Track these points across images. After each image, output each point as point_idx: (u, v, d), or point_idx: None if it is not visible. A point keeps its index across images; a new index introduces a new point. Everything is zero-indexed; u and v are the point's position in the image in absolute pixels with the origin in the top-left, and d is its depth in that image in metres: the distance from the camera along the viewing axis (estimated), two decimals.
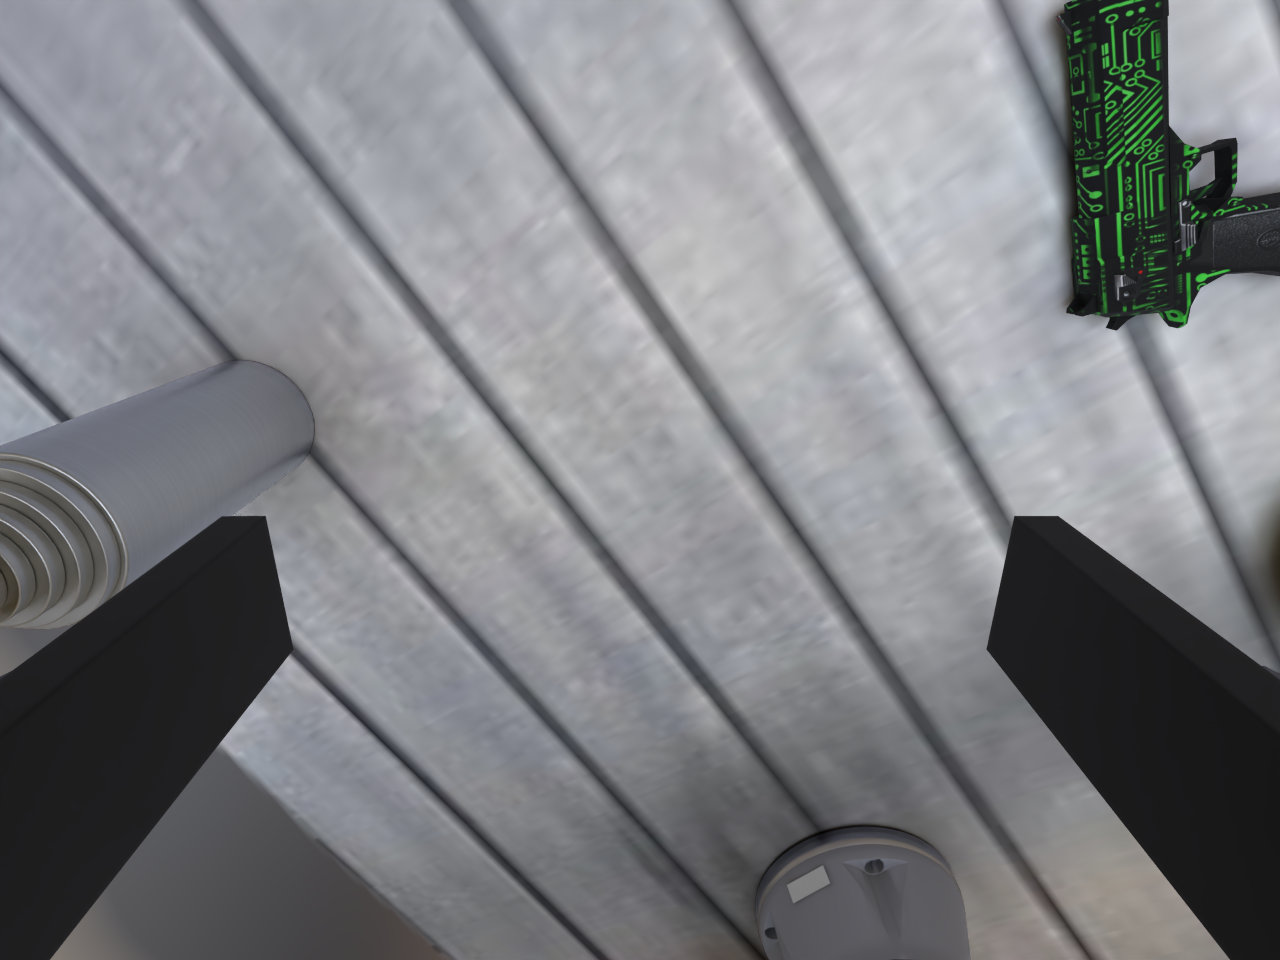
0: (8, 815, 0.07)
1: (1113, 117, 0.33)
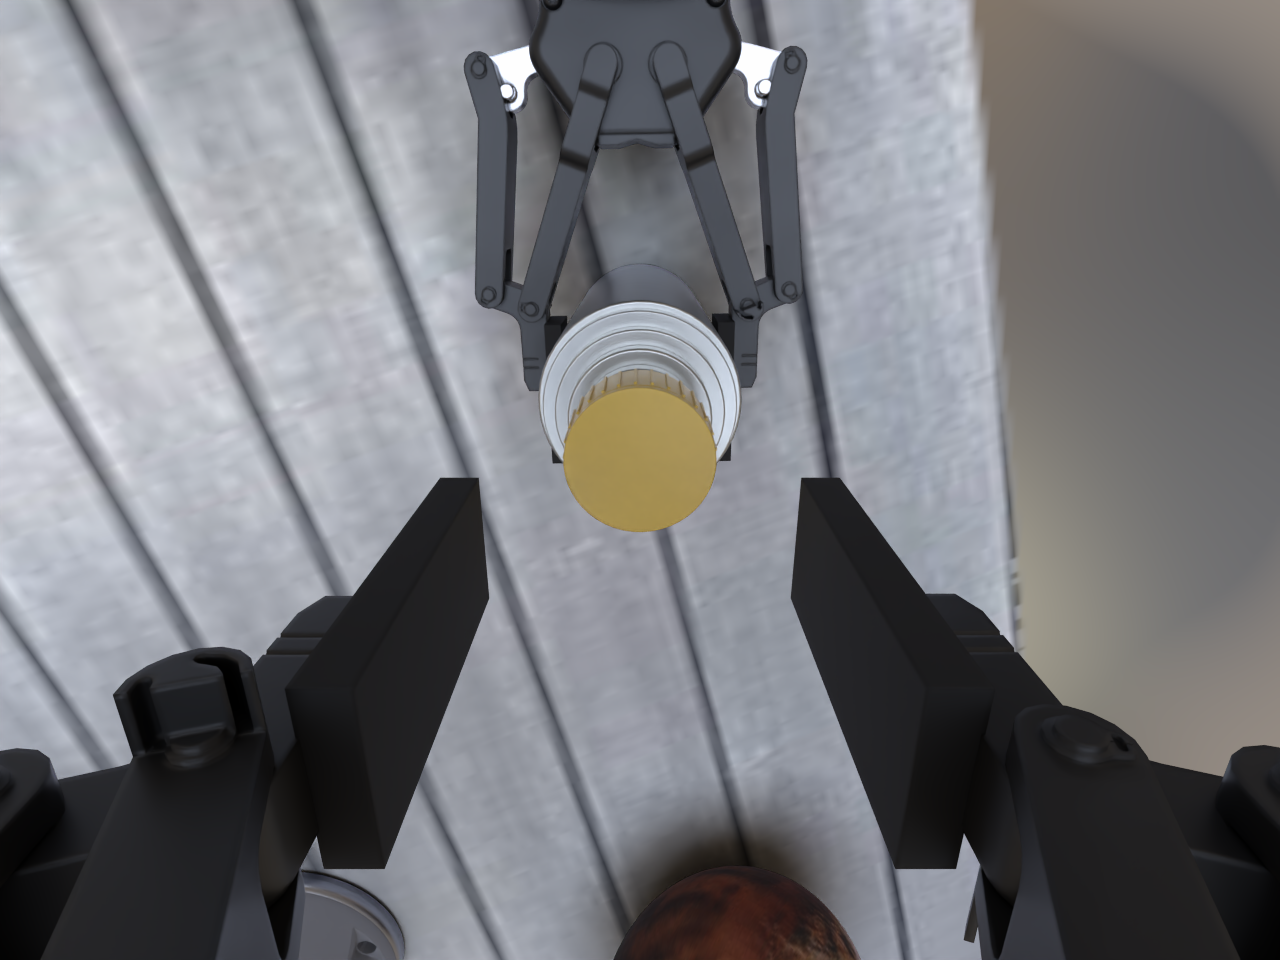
0: (388, 698, 0.09)
1: None
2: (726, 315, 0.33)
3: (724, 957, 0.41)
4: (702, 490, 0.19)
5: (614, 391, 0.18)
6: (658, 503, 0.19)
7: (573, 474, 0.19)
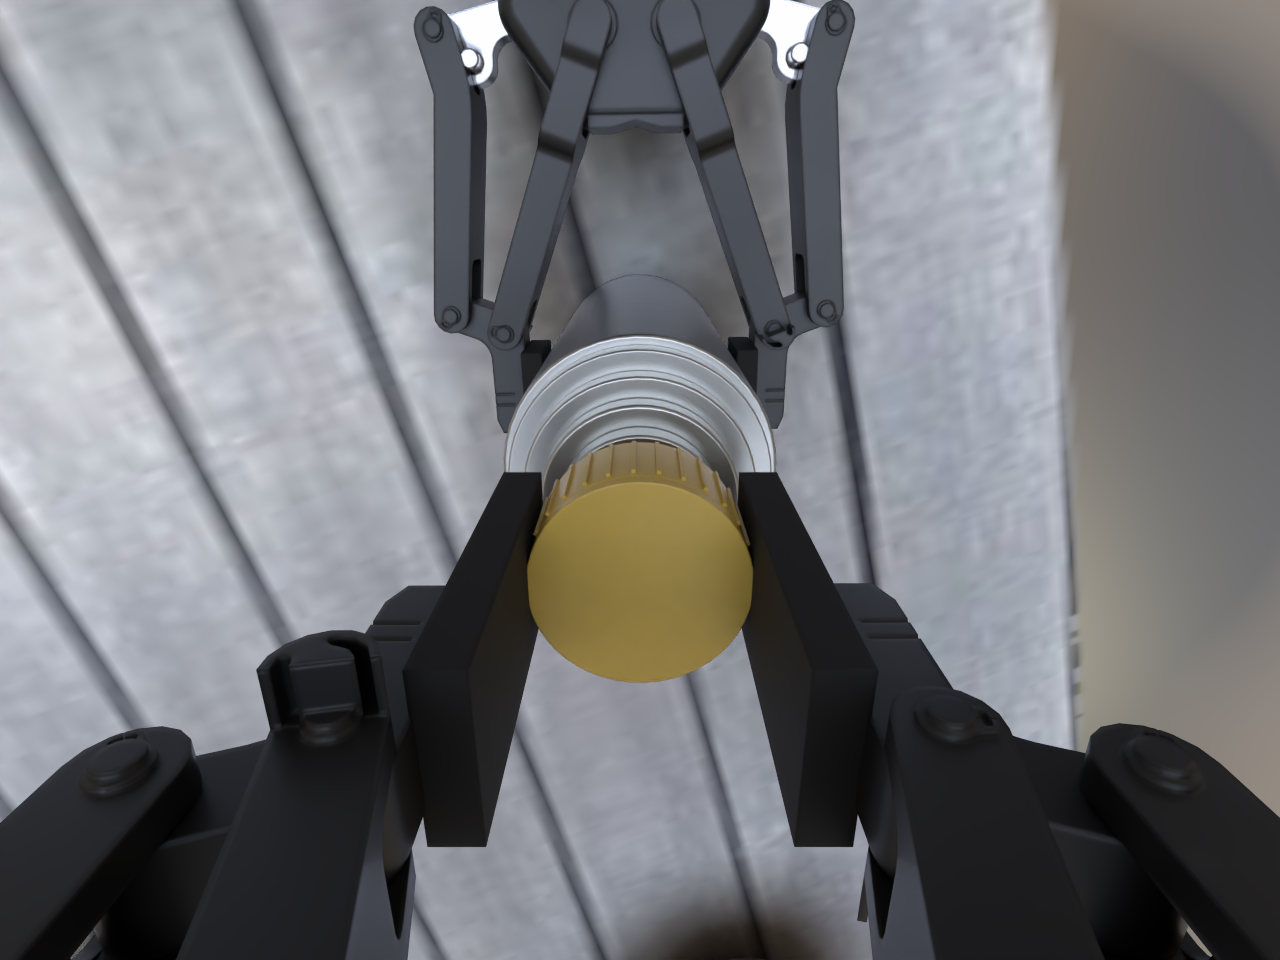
0: (488, 682, 0.09)
1: None
2: (746, 340, 0.27)
3: None
4: (732, 626, 0.13)
5: (601, 486, 0.12)
6: (667, 644, 0.13)
7: (541, 604, 0.13)
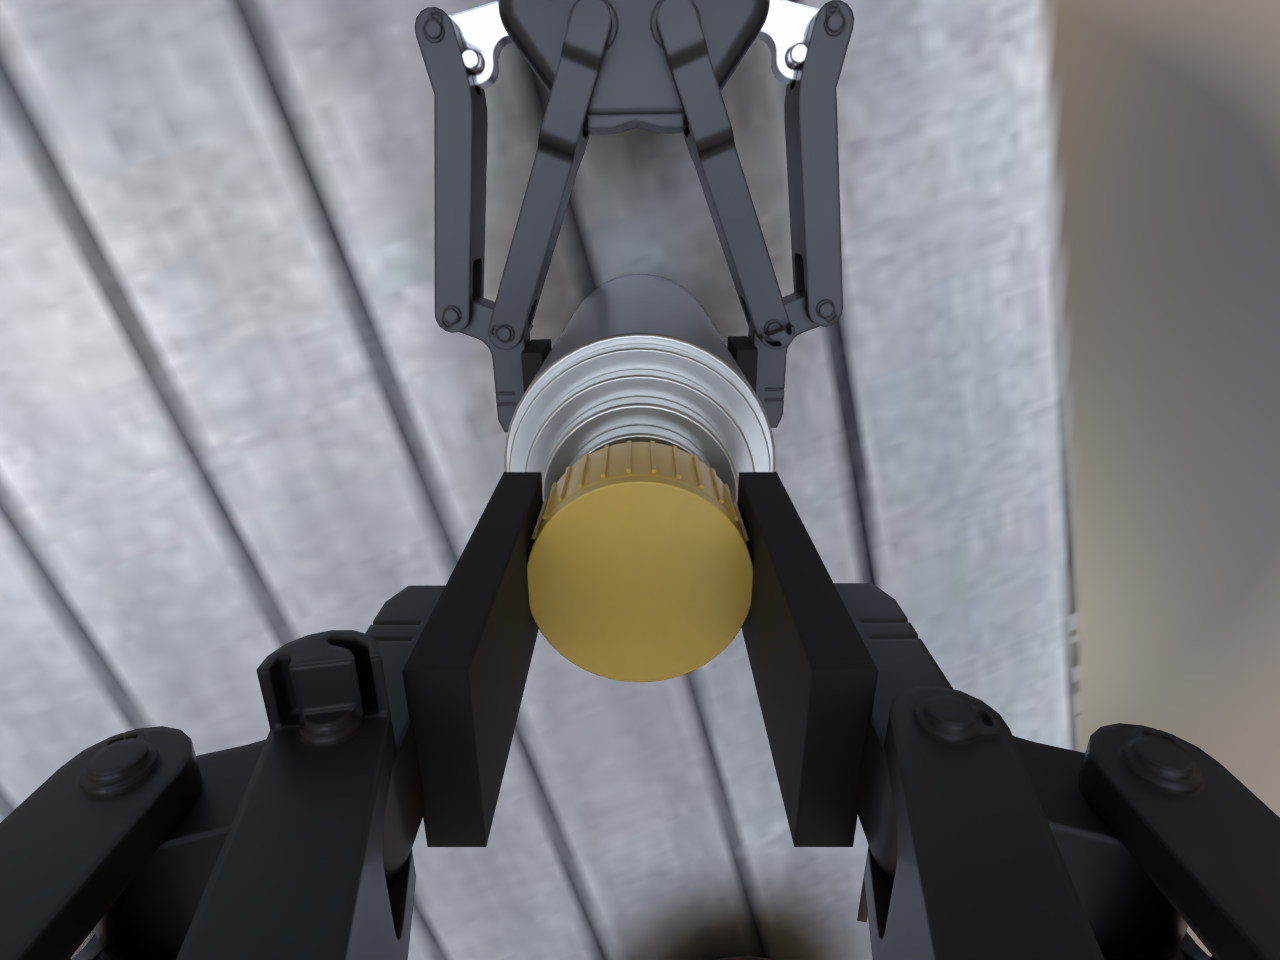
0: (489, 682, 0.09)
1: None
2: (745, 339, 0.27)
3: None
4: (665, 493, 0.12)
5: (544, 635, 0.13)
6: (699, 551, 0.12)
7: (676, 666, 0.13)
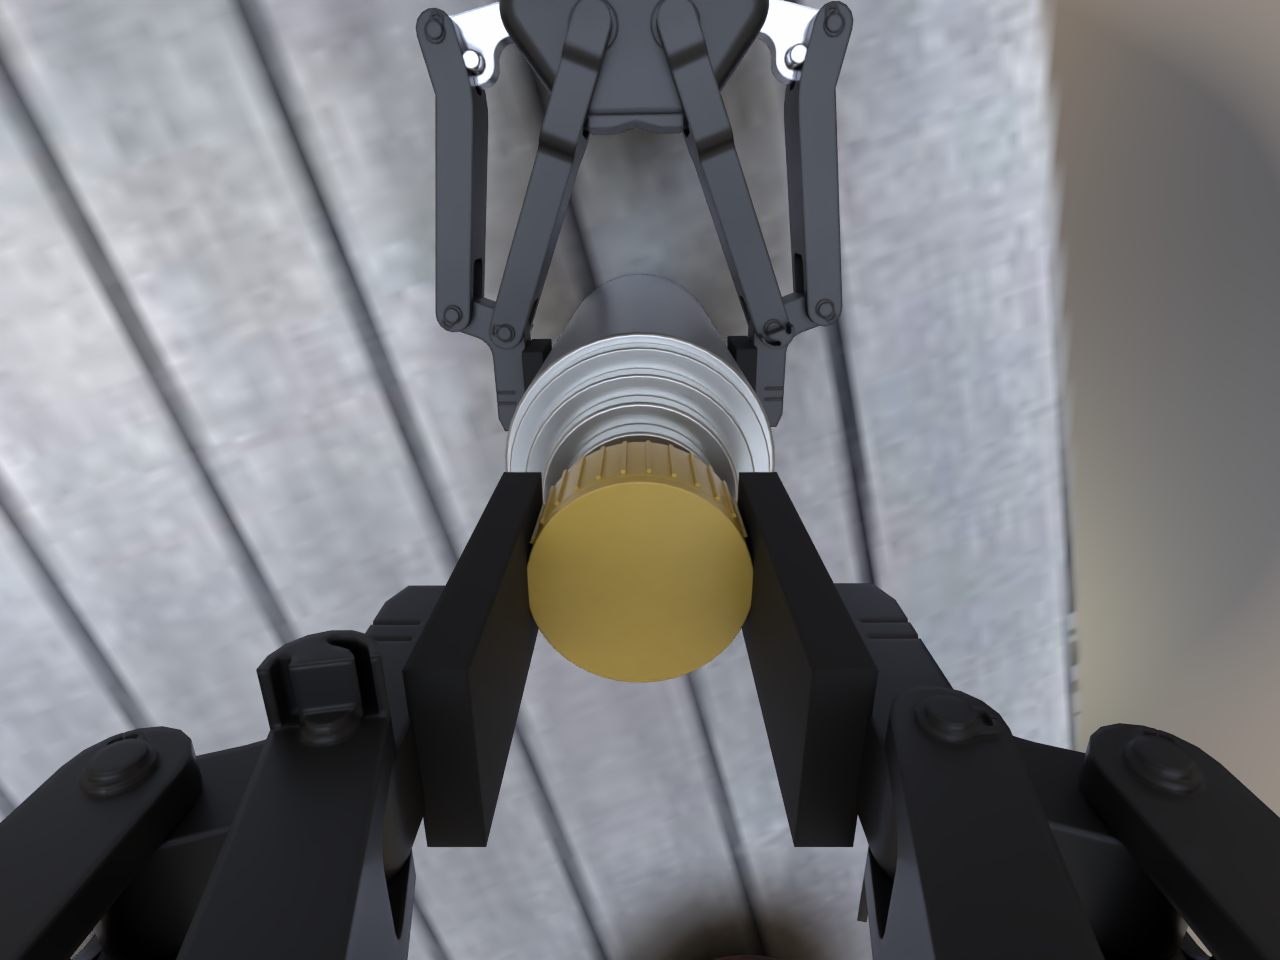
0: (489, 682, 0.09)
1: None
2: (745, 339, 0.27)
3: None
4: (535, 585, 0.12)
5: (713, 657, 0.13)
6: (586, 544, 0.12)
7: (726, 537, 0.12)
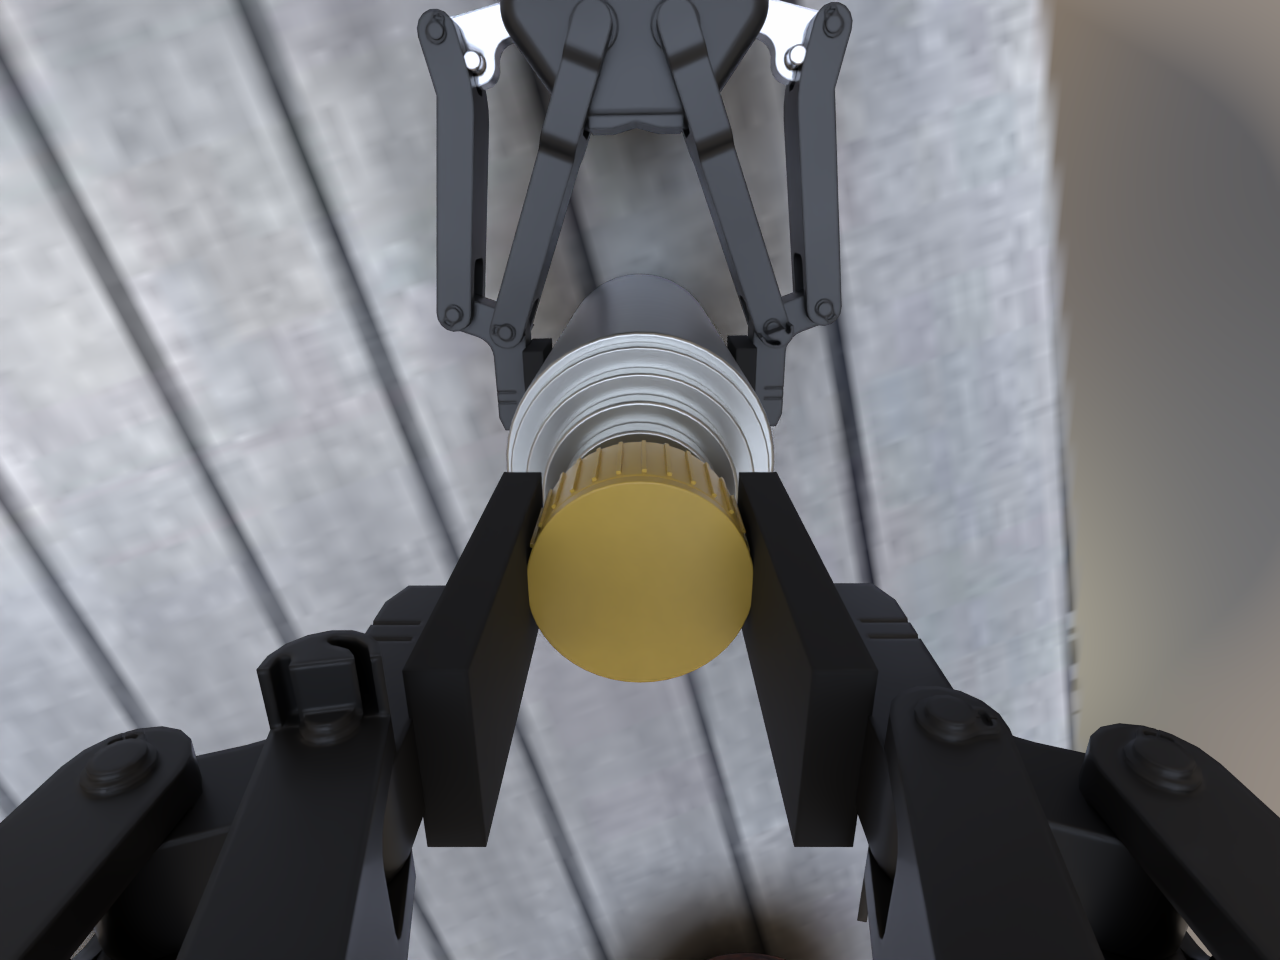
0: (489, 682, 0.09)
1: None
2: (745, 338, 0.27)
3: None
4: (657, 674, 0.13)
5: (710, 501, 0.12)
6: (603, 640, 0.13)
7: (564, 523, 0.12)
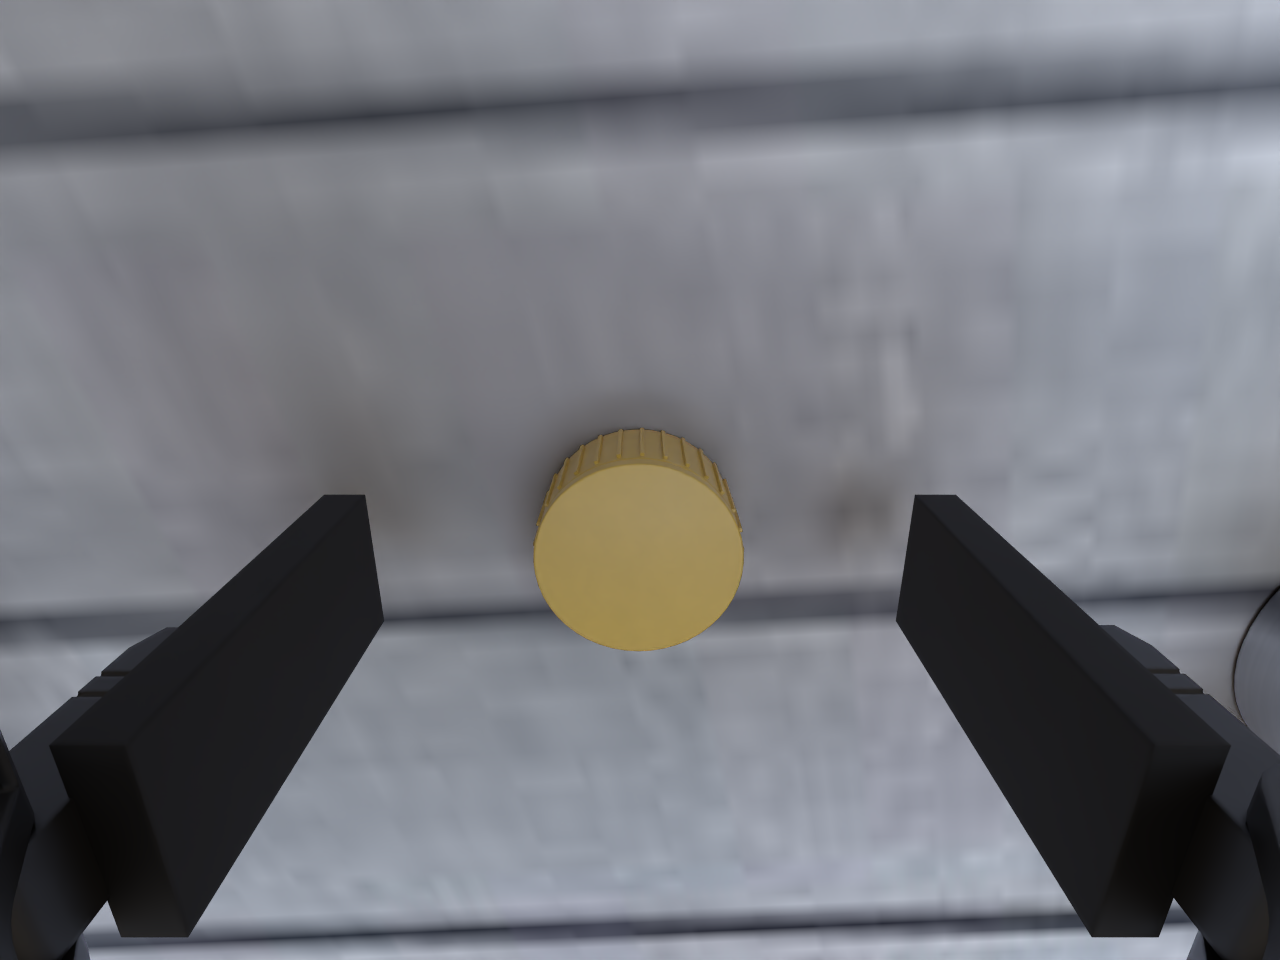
0: (196, 747, 0.08)
1: None
2: None
3: None
4: (654, 643, 0.14)
5: (702, 482, 0.13)
6: (605, 611, 0.14)
7: (569, 502, 0.13)
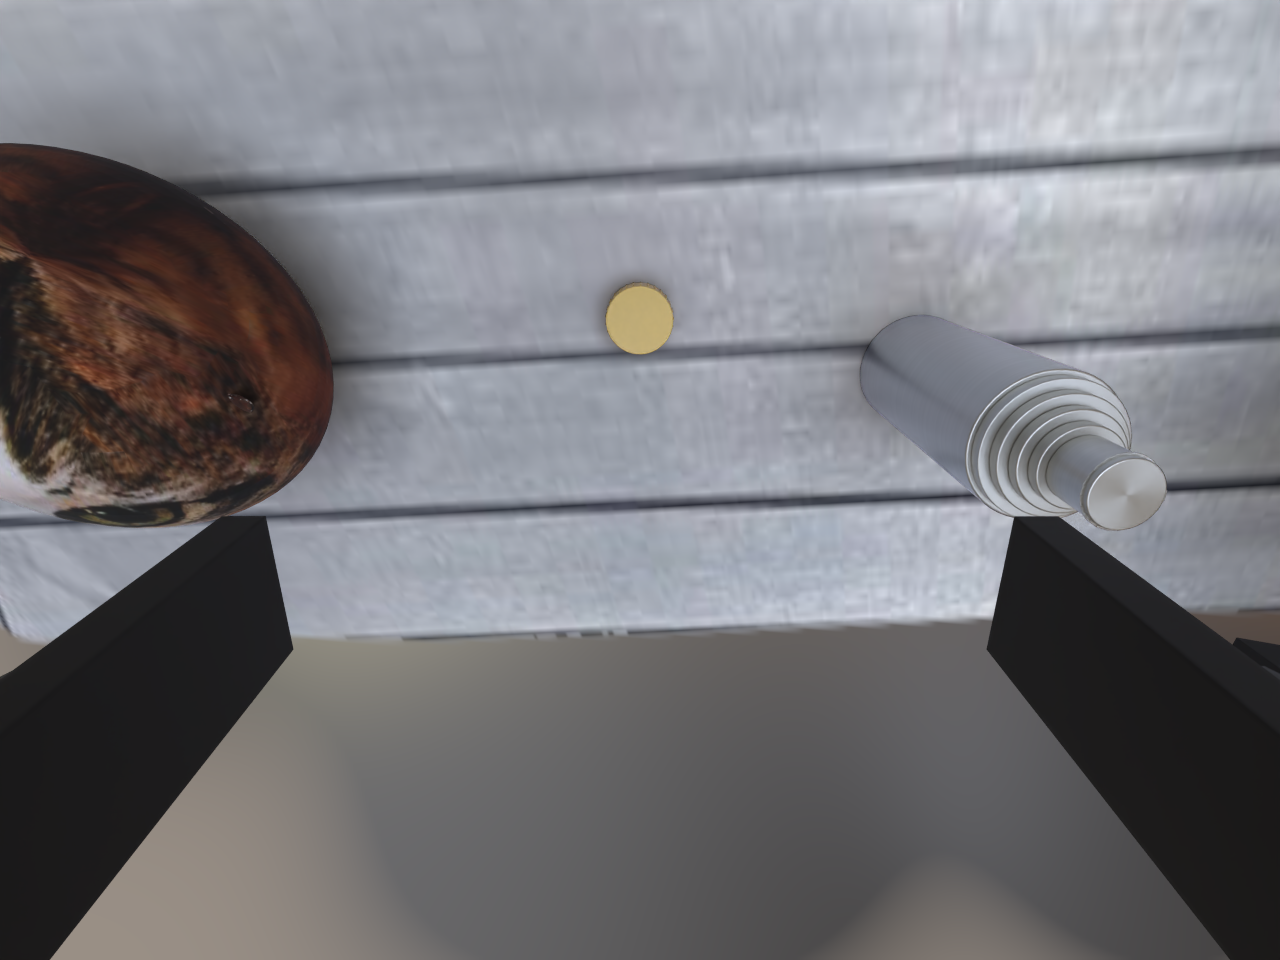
0: (8, 815, 0.07)
1: None
2: None
3: (291, 371, 0.35)
4: (644, 351, 0.43)
5: (659, 292, 0.42)
6: (628, 338, 0.43)
7: (618, 299, 0.42)
